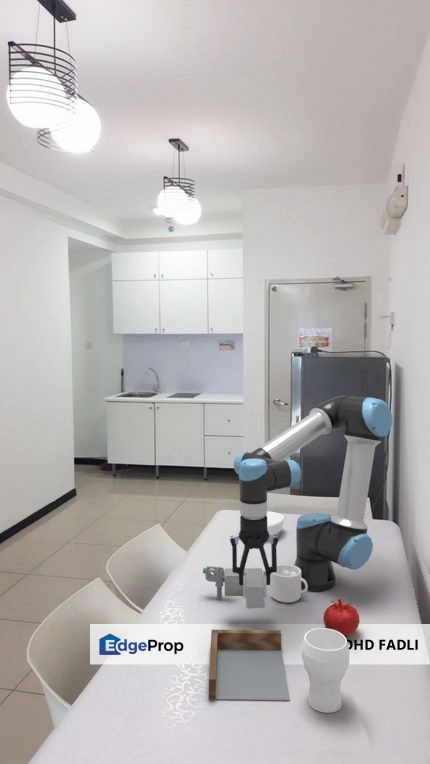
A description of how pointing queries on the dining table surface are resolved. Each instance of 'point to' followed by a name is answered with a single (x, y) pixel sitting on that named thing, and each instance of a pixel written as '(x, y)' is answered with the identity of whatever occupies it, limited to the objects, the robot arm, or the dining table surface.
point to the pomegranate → (341, 618)
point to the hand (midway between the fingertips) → (254, 595)
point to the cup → (325, 667)
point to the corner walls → (239, 647)
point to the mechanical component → (215, 578)
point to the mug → (287, 583)
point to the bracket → (247, 586)
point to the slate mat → (251, 675)
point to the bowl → (274, 523)
